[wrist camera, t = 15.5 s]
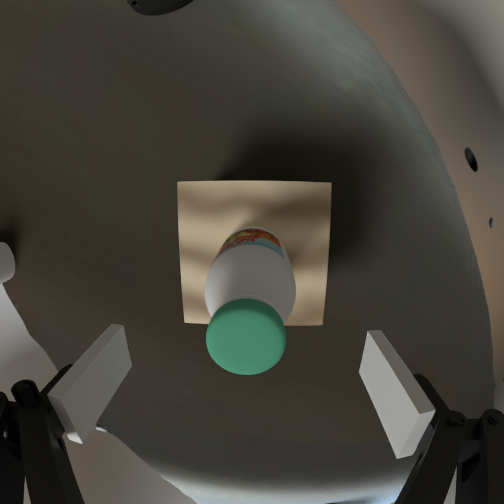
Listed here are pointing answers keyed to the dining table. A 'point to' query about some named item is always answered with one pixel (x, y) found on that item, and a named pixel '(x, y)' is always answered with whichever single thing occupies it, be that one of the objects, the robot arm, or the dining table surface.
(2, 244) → the cylinder with rectangular tab
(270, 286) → the milk bottle
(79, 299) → the dining table surface
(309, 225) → the oak footstool
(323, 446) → the dining table surface
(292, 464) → the dining table surface
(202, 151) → the dining table surface
